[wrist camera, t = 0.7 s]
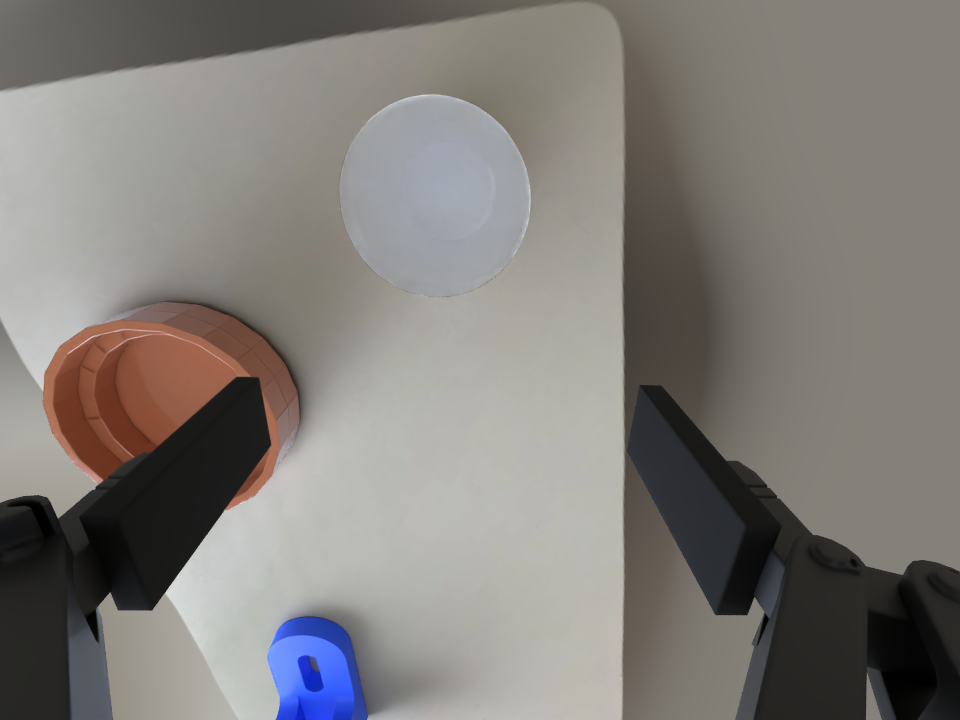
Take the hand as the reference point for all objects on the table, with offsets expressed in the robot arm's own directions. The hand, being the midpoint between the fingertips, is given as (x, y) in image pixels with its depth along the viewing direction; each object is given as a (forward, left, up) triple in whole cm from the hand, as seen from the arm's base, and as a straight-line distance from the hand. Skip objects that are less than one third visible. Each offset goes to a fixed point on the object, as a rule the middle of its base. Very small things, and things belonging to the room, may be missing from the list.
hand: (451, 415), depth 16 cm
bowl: (+5, -24, -20) cm, 31 cm away
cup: (-6, 0, -20) cm, 21 cm away
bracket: (+41, -27, -20) cm, 52 cm away
